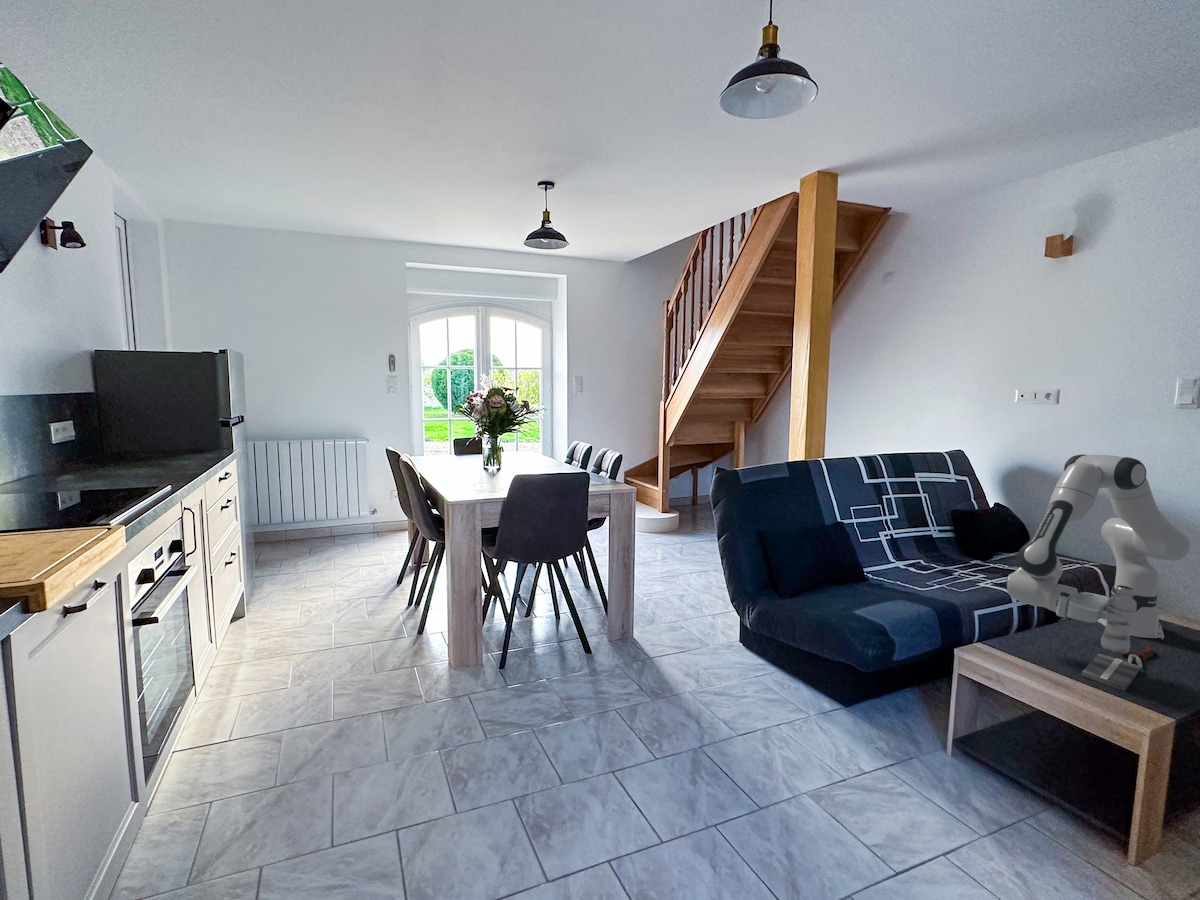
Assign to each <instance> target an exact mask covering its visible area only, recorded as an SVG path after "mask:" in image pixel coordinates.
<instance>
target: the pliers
mask: <svg viewBox="0 0 1200 900" xmlns="http://www.w3.org/2000/svg"><path fill="white" fill-rule="evenodd" d="M1154 653H1155V652H1154V650H1153V648H1152V646H1150V645H1148V644H1147V645H1146V647H1145V650H1142V651H1141V650H1140V651H1138V652H1135V653H1133V652H1132V651H1131V650H1129V651H1128V652H1127V653H1126V654H1120V657H1121V658H1126V659H1127V662H1128V663H1131V664H1133V662H1134V663H1135V665H1138V666H1140V669H1143V663H1145V662H1146V660H1147V659H1149V658H1151V657H1153V656H1154Z"/></svg>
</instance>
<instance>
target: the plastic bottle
mask: <svg viewBox="0 0 1200 900" xmlns="http://www.w3.org/2000/svg"><path fill="white" fill-rule="evenodd" d="M1116 592H1117V593H1116V594H1115V595H1113V596H1112V597H1111V596H1109V600H1108V602H1107V611H1108V613H1113V614H1115V613H1116V614H1119V615H1122V620H1121V621H1120V622H1118V621H1114V620H1107V624H1106V627H1105V626H1104V631H1103V632H1102V633H1103V634H1102V636H1101V639H1100V645H1101V647H1102V649H1104V650H1106V651H1109V652H1110V653H1113V654H1119V655H1121V654H1126V653H1127V652H1128V651H1130V648H1131V640H1130V639H1131V635H1130V628H1131V623H1132V619H1133V617H1134V614H1135V611H1136V608H1137V607H1136V604H1135V602H1134V600H1133V599H1132V597H1131V596H1133V588H1130V587H1127V586H1122V585H1118V586H1117V589H1116Z"/></svg>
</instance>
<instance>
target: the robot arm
mask: <svg viewBox="0 0 1200 900" xmlns="http://www.w3.org/2000/svg"><path fill="white" fill-rule="evenodd" d="M1099 489H1106V490H1107V494H1108V497H1109V500H1110V503H1111V506H1112V510H1113V512H1114V514H1115V515H1116V516H1117V517H1110V518H1107V520H1106V521H1105V522H1104V523H1103V524H1102V527H1101V531H1100V532H1101V536H1102V539H1103V540H1104V541H1105V542H1106V544H1108V545H1109V547H1110V549H1111V551H1112V554H1113V556H1114V559H1115V565H1116V569H1115V570H1116V572H1115V580H1114V585H1113V586H1112V589H1111V591H1110V593H1111V594H1110V596H1107V595H1102V594H1098V593H1092V592H1089V591H1088V592H1087V591H1082V592H1078V591H1079V590H1078V588H1077V587H1073V586H1069V585H1065V584H1061V583H1059V581H1060V579H1061V577H1062V574H1063V571H1064V570H1063V564H1062V562H1061V561H1060V559H1059V557H1057V551H1056V550H1057V545H1058V543H1059V541H1060V539H1061V537H1062V535H1063V533H1064V531H1065V529H1066V527H1067V526H1068V525H1069V524H1070V523H1072V522H1077V521H1081V520H1083V519H1085V518H1086V517H1087V515H1088V514H1089V513H1090V511H1091V510H1092V508H1093V506H1094V504H1095V501H1096V499H1097V496H1098V495H1099V492H1100V491H1099ZM1190 550H1191V543H1190V539H1189V537H1188V536H1187V535H1186V534H1184V533H1183V532H1181V531H1180V530H1179V529H1178V528H1176V527H1174V526H1173V525H1172V524H1171V523H1170V522H1169V520H1167V518H1165V516H1164V515H1163V514H1162V512H1161V511H1160V509H1159V508H1158V506H1157V504H1156V500H1155V499H1154V496H1153V493H1152V489H1151V486H1150V484H1149V481H1148V479H1147V469H1146V466H1145V465H1144V464H1143V462H1142V461H1141V460H1139V459H1137V458H1134V457H1130V456H1124V457H1123V456H1119V455H1111V454H1110V455H1109V454H1088V455H1087V454H1076V455H1073V456H1071V457H1070V458H1068V459H1067V461H1066V462H1065V463H1064V468H1063V473H1062V474H1061V475H1060V477H1059V479H1058V481H1057V482H1056V485H1055V486H1054V489H1053V491H1052V494H1051V496H1050V499H1049V503H1048V505H1047V508H1046V511H1045V513H1044V515H1043V516H1042V519H1041V521H1040V523H1039V525H1037V529H1036V530H1035V532H1034V534H1033V536H1032V537H1031V539H1029V541H1027V542H1026V543H1025V544H1024V545H1022V546H1021V547H1020V549H1019V551H1018V552H1017V555H1016V557H1017V558H1016V559H1017V564H1018V566H1019V568H1017V569H1016V570H1015V571H1013V572H1012V573H1010V574H1008V576H1007V578H1006V586H1005V587H1006V592H1007V593H1008V595H1009V596H1010V597H1011V598H1012V599H1014V600H1016V601H1019V602H1021V603H1023V604H1027V605H1030V606H1032V607H1033V606H1034V607H1042V608H1045V609H1048V610H1049V611H1052V612H1055V614H1056V616H1058V617H1061V618H1064V619H1065V618H1066V617H1067V618H1069V619H1073V620H1077V621H1080V622H1086V623H1093V624H1094V623H1099V624H1101V625H1102V626H1104V628H1105V627H1106V624H1107V620H1114V621H1118V622H1120V621H1121V620H1122V615H1119V614H1116V613H1115V614H1113V613H1108V611H1107V602H1108V600H1109V598H1110V597H1112V596H1113V595H1115V594H1116V593H1117V592H1116V589H1117V586H1118V585H1122V586H1127V587H1130V588H1133V596H1131V597H1132V599H1133V600H1134V602H1135V604H1136V607H1137V608H1136V611H1135V614H1134V617H1133V619H1132V623H1131V628H1130V637H1136V638H1145V639H1157V638H1161V639H1160V640H1165V635H1164V631H1163V627H1162V625H1161V623H1160V622H1159V620H1160V613H1159V612H1158V610H1157V609H1156V607H1157V606H1156V605H1157V603H1158V596H1157V590H1158V584H1159V580H1160V575H1159V572H1158V570H1157V569H1156V568H1155V567H1154V566H1152V564H1151V563H1150V562H1149V560H1148V557H1150V558H1153V559H1156V560H1157V559H1158V560H1163V561H1173V562H1176V561H1177V562H1178V561H1181V560H1182V559H1184V558H1185V557H1186V556H1188V554H1189V552H1190Z"/></svg>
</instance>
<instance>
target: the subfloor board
mask: <svg viewBox="0 0 1200 900" xmlns="http://www.w3.org/2000/svg"><path fill="white" fill-rule="evenodd" d="M1140 671H1141V667H1140V666H1138V665H1137V664H1136V663H1135V664H1134V663H1128V661H1125V660H1123V659H1120V658H1117V657H1116V658H1115V657H1113V656H1112V657H1111V656H1108V655H1104V654H1101V653H1098V654H1096V656H1095V657H1094V658H1093V659H1092V660H1091V661H1090V662H1089V663H1088V664H1087V666H1085V668H1083V670H1082V671H1081V675H1082V676H1085V677H1087V678H1090V679H1092V680H1091V681H1093V680H1095V681H1094V682H1096V681H1098V682H1097V683H1099V682H1100V684H1103V685H1105V684H1106V686H1108V687H1112V688H1114V689H1118V690H1120V691H1123V692H1126V691H1127V689H1128V688H1129V687H1130V685H1131V683H1133V681H1134V679H1135V678H1136V676H1138V674H1139V672H1140ZM1081 675H1080V676H1081ZM1087 678H1086V679H1087ZM1090 679H1089V680H1090Z"/></svg>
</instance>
